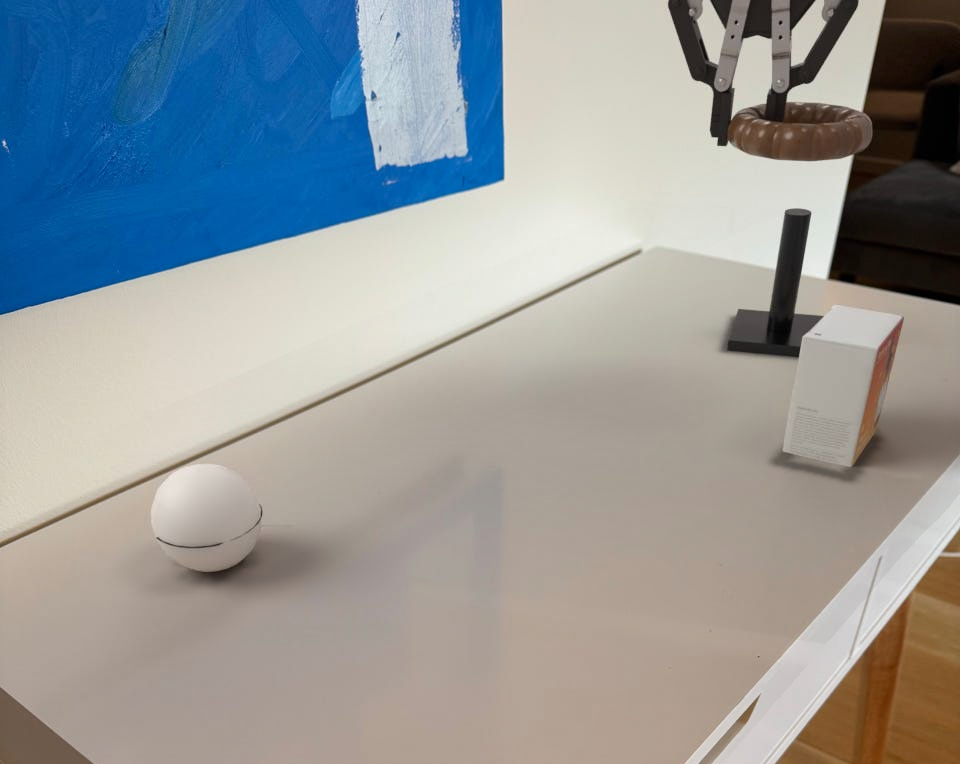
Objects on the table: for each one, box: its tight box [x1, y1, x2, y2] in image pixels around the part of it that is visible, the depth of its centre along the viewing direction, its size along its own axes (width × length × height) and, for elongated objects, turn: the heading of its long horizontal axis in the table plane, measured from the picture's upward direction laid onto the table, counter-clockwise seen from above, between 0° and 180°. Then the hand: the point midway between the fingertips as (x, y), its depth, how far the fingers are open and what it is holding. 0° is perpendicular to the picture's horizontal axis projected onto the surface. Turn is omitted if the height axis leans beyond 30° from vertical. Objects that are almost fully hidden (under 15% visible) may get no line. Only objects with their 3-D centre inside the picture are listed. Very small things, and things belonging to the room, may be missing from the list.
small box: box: [782, 304, 905, 468], centre depth 79 cm, size 8×6×10 cm
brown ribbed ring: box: [727, 101, 873, 162], centre depth 76 cm, size 10×10×2 cm
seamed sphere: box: [150, 463, 295, 573], centre depth 68 cm, size 10×7×7 cm
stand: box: [726, 207, 825, 358], centre depth 97 cm, size 9×9×12 cm
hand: (744, 143), depth 77 cm, fingers closed on brown ribbed ring, 2 cm apart
